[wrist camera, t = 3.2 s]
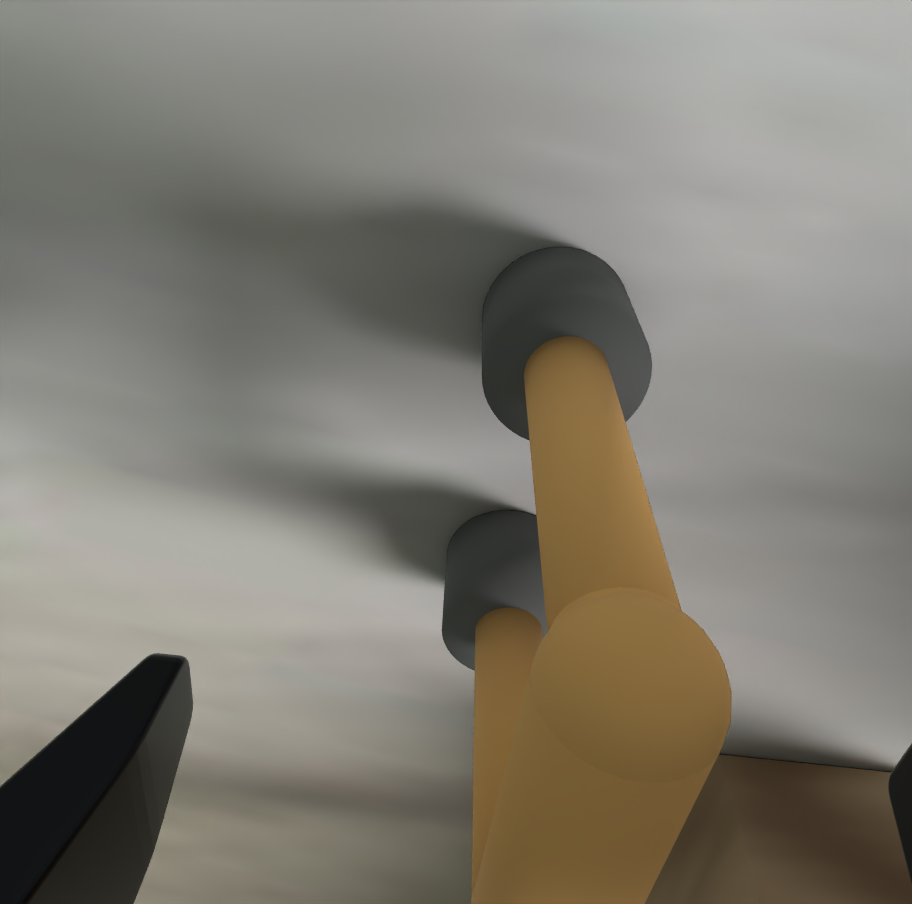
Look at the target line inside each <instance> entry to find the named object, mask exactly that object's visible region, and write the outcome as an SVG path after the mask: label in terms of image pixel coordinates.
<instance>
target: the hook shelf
mask: <svg viewBox="0 0 912 904" xmlns="http://www.w3.org/2000/svg"><path fill="white" fill-rule="evenodd" d="M890 774H891V772H882V771H873V770H863V769H854V768H844V767H834V766H825V765H815V764H806V763H796V762H786V761H777V760H767V759H758V758H748V757H738V756H729V755H718V757H717V759H716V761H715V763H714V765H713V767H712V769H711V771H710V773H709V775H708V777H707V779H706V781H705V783H704V785H703V787H702V789H701V791H700V793H699V795H698V797H697V799H696V801H695V803H694V805H693V807H692V809H691V811H690V813H689V815H688V817H687V819H686V821H685V823H684V825H683V827H682V829H681V831H680V833H679V835H678V837H677V839H676V841H675V843H674V845H673V847H672V850H671V852H670V854H669V856H668V858H667V860H666V862H665V864H664V866H663V868H662V870H661V872H660V874H659V876H658V878H657V880H656V882H655V884H654V886H653V888H652V890H651V892H650V894H649V896H648V898H647V900H646V902H645V904H912V884H911V880H910V876H909V872H908V868H907V864H906V860H905V856H904V852H903V848H902V844H901V841H900V837H899V833H898V829H897V825H896V821H895V817H894V813H893V809H892V805H891V801H890V797H889V790H888V783H889V777H890Z"/></svg>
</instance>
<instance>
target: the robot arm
mask: <svg viewBox="0 0 912 904" xmlns="http://www.w3.org/2000/svg"><path fill="white" fill-rule="evenodd" d="M192 710H193V697H192V688H191V678H190V668H189V663H188V660H187V659H186V658H185V657H183V656H179V655H169V654H160V653H156V654H151V655H149V656H147V657H146V658H145V659H144V660H143V661H141V662H140V663H139V664H138V665H137V666H136V667H135V668H133V669H132V670H131V671H130V672H129V673H128V674H127V675H126V676H124V677H123V678H122V679H121V680H120V681H119V682H118V683H117V684H115V685H114V686H113V687H112V688H111V689H110V690H109V691H108V692H106V693H105V694H104V695H103V696H102V697H101V698H100V699H98V700H97V701H96V702H95V703H94V704H93V705H92V706H91V707H89V708H88V709H87V710H86V711H85V712H84V713H83V714H82V715H80V716H79V717H78V718H77V719H76V720H75V721H74V722H73V723H71V724H70V725H69V726H68V727H67V728H66V729H65V730H64V731H62V732H61V733H60V734H59V735H58V736H57V737H56V738H54V739H53V740H52V741H51V742H50V743H49V744H48V745H47V746H45V747H44V748H43V749H42V750H41V751H40V752H39V753H38V754H36V755H35V756H34V757H33V758H32V759H31V760H30V761H29V762H27V763H26V764H25V765H24V766H23V767H22V768H21V769H20V770H18V771H17V772H16V773H15V774H14V775H13V776H12V777H10V778H9V779H8V780H7V781H6V782H5V783H4V784H3V785H1V786H0V904H134V901H135V899H136V896H137V894H138V891H139V889H140V886H141V884H142V881H143V879H144V876H145V874H146V871H147V868H148V866H149V863H150V860H151V857H152V855H153V852H154V849H155V846H156V842H157V839H158V835H159V832H160V829H161V825H162V822H163V818H164V815H165V811H166V807H167V804H168V800H169V797H170V793H171V790H172V786H173V782H174V779H175V775H176V772H177V768H178V764H179V761H180V757H181V754H182V750H183V747H184V743H185V739H186V736H187V732H188V729H189V725H190V721H191V716H192ZM888 790H889V797H890V801H891V805H892V809H893V813H894V817H895V821H896V825H897V829H898V833H899V837H900V841H901V844H902V848H903V852H904V856H905V860H906V864H907V868H908V872H909V876H910V880H911V884H912V744H911V745H910V747H909V748H908V749H907V751H906V752H905V754H904V755H903V756H902V758H901V759H900V761H899V762H898V763H897V765H896V766H895V768H894V769H893V771H892V772H891V774H890V777H889V783H888Z"/></svg>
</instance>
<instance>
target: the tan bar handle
mask: <svg viewBox="0 0 912 904" xmlns="http://www.w3.org/2000/svg"><path fill="white" fill-rule="evenodd" d="M651 371H652V361H651V353H650V349H649V345H648V343H647V340H646V338H645V336H644V333H643V331H642V328H641V326H640V324H639V321H638V319H637V316H636V314H635V312H634V309H633V307H632V304H631V302H630V299H629V297H628V295H627V292H626V290H625V287H624V285H623V283H622V281H621V280H620V278H619V276H618V275H617V274H616V273H615V271H614V270H613V269H612V268H611V267H610V266H609V265H608V264H607V263H606V262H604V261H603V260H601V259H600V258H598V257H597V256H595V255H593V254H591V253H588V252H585V251H583V250H579V249H574V248H568V247H552V248H545V249H540V250H537V251H534V252H531V253H529V254H526V255H524V256H522V257H520V258H519V259H517V260H516V261H514V262H512V263H511V264H510V265H509V266H508V267H506V268H505V269H504V270H503V271H502V272H501V274H500V275H499V276H498V277H497V278H496V280H495V281H494V283H493V284H492V286H491V288H490V290H489V291H488V294H487V297H486V299H485V303H484V307H483V315H482V385H483V389H484V394H485V397H486V399H487V402H488V404H489V406H490V408H491V409H492V411H493V413H494V414H495V415H496V417H497V418H498V419H499V420H500V421H501V422H502V423H503V424H504V425H505V426H506V427H507V428H509V429H510V430H511V431H512V432H514V433H516V434H517V435H519V436H521V437H523V438H525V439H528V440H530V449H531V460H532V471H533V482H534V493H535V504H536V514H537V517H536V516H534V515H531V514H528V513H524V512H519V511H508V510H507V511H495V512H490V513H486V514H482V515H480V516H477V517H475V518H473V519H471V520H469V521H468V522H466V523H465V524H464V525H462V526H461V527H460V528H459V529H458V530H457V531H456V533H455V534H454V535H453V537H452V538H451V540H450V543H449V545H448V549H447V558H446V574H445V590H444V605H443V621H442V636H443V640H444V643H445V645H446V647H447V649H448V650H449V652H450V653H451V654H452V655H453V656H454V657H455V658H456V659H457V660H458V661H459V662H460V663H462V664H463V665H465V666H467V667H468V668H470V669H472V670H474V671H475V689H474V761H473V833H472V901H471V904H645V902H646V900H647V898H648V896H649V894H650V892H651V890H652V888H653V886H654V884H655V882H656V880H657V878H658V876H659V874H660V872H661V870H662V868H663V866H664V864H665V862H666V860H667V858H668V856H669V854H670V852H671V850H672V847H673V845H674V843H675V841H676V839H677V837H678V835H679V833H680V831H681V829H682V827H683V825H684V823H685V821H686V819H687V817H688V815H689V813H690V811H691V809H692V807H693V805H694V803H695V801H696V799H697V797H698V795H699V793H700V791H701V789H702V787H703V785H704V783H705V781H706V779H707V777H708V775H709V773H710V771H711V769H712V767H713V765H714V763H715V761H716V759H717V757H718V755H719V753H720V751H721V749H722V747H723V745H724V742H725V738H726V734H727V731H728V728H729V725H730V722H731V688H730V684H729V679H728V675H727V672H726V668H725V665H724V663H723V660H722V658H721V656H720V654H719V652H718V650H717V649H716V647H715V646H714V644H713V643H712V641H711V640H710V639H709V637H708V636H707V634H706V633H705V631H704V630H703V629H702V628H701V627H700V626H699V625H698V624H697V623H696V622H695V621H694V620H692V619H691V618H690V617H689V616H687V615H686V614H685V613H683V612H682V610H681V607H680V604H679V600H678V597H677V593H676V590H675V587H674V583H673V580H672V577H671V573H670V570H669V567H668V563H667V560H666V557H665V553H664V550H663V547H662V543H661V540H660V537H659V533H658V530H657V527H656V523H655V520H654V517H653V513H652V510H651V507H650V503H649V500H648V496H647V493H646V490H645V486H644V483H643V480H642V476H641V473H640V470H639V466H638V463H637V460H636V456H635V453H634V450H633V446H632V443H631V440H630V436H629V433H628V430H627V426H626V423H625V422H626V421H627V420H628V419H629V418H630V417H631V416H632V415H633V414H634V413H635V411H636V410H637V408H638V407H639V406H640V404H641V402H642V401H643V399H644V397H645V395H646V392H647V389H648V387H649V383H650V379H651Z"/></svg>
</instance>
